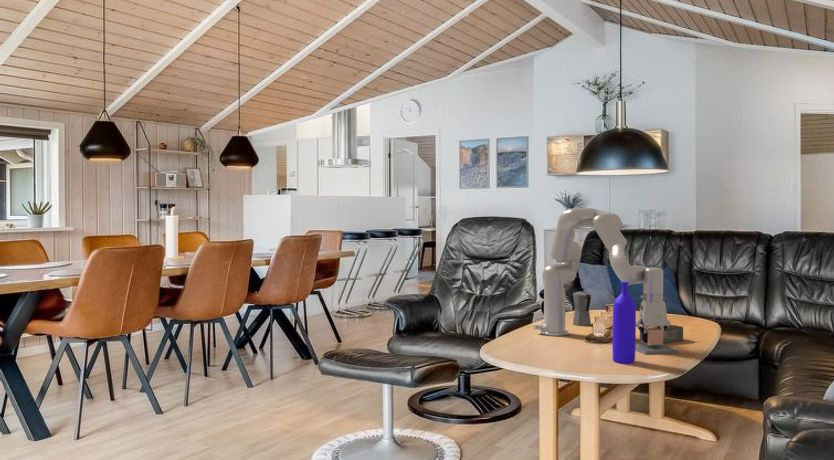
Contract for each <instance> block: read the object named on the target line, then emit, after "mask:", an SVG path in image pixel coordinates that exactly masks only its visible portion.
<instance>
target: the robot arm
mask: <svg viewBox="0 0 834 460" xmlns="http://www.w3.org/2000/svg"><path fill="white" fill-rule="evenodd" d="M622 224H623V223H622V219H621V217H620V216H619V215H618V214H617V213H614V212H610V211H605V210H602V209H597V208H590V207H583V208H582V207H575V208H569V209H566V210H563V212H561V214H560V215H559V217H558V219H557V223H556V230H555V234H554V237H553V241H552V246H551V250H550V258H551V260H553V261H554V262H555V263H552V264H548V265H547V266H546V267H544V269H543V271H542V273H541V276H542V277H541V278H542V284H543V322H542V323H541V324H537V325H536V324H534V325H533V329H534V330H538V331H540V334H542V335H545V336H550V337H551V336H553V337H559V336H560V337H562V336H568V335H569V330H567V329H566V290H565V287H564V285H566V284H569V283H570V284H571V283H572V282H573V281H574V280H575V279H576V277H577V274H578V269H579V265H580V263H581V262H580V261H581V257H582V248H581V245H580V244H579V243H578V242H576V241H574V240H575V236H576V231H575V230H576V229H575V228H592V229H594V230H595V232H596V233H597V235H598V236H599V239H600V240H601V241H602V243H603V244H604V247H605V248H606V250H607V251H608V258H609V263H610V266H611V269H612V270H613V272H614V273H615V275H616V277H617V278H618V279H619V280H620V282H629V284H628V286H631V285H632V286H633V285H638V284H643V285H642V287H643V288H642V291H643V293H642V295H639V296H640V299H641V302H640V308H639V317H638V319H636V329H637V330H639V332H640V331H641V332H642V342H641V343H643V342H644V343H647V336H648V333H646V332H647V330H648V327H657V328H660V329H662V330H663V333H664V332H665V330H666V329H667V327H668V326H669V325H672V324H671V322H670V320H669V319H668V310H667V306H666V302H665V300H664V269H662V268H661V267H657V266H646V265H645V266H644V265H640V264H639V265H637V264H636V265H631V264H630V262H629V261H628V259H627V257H626V255H625V247H626V245H627V244H628V243H627V239H626V238H625V237H624V235H623V233H622V232H621V227H622Z"/></svg>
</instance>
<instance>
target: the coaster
mask: <svg viewBox="0 0 834 460" xmlns="http://www.w3.org/2000/svg"><path fill="white" fill-rule="evenodd" d="M636 351H637V352H638V353H641V354H643V355H661V354H662V355H666V354H678V353H679V349H677V348H674V347H671V346H668V345H666V344H665V343H663V345H648V344H645V343H643V342H640V343H636V346H635V352H636Z"/></svg>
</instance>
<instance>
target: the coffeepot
mask: <svg viewBox="0 0 834 460" xmlns="http://www.w3.org/2000/svg"><path fill="white" fill-rule="evenodd" d="M584 290H585V288H583V287H580V291H576V292H573V293H572V297H573V305H574V315H573V320H572V325H573V326H577V327H578V326H579V327H590V326H592V322H591V316H590V307H591V306H590V305H591V301H592V300H591V299H592V293H590V292H586V291H584ZM589 325H590V326H589Z"/></svg>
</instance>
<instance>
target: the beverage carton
mask: <svg viewBox="0 0 834 460" xmlns="http://www.w3.org/2000/svg"><path fill="white" fill-rule="evenodd" d="M681 341H684V326H680V325H675V324H670V325H669V326H668V327H667V329H666V330H665V332H664V333H663V344H668V343H674V342H681ZM639 342H640V343H643V342H642V332H641V331H640V330H639Z"/></svg>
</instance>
